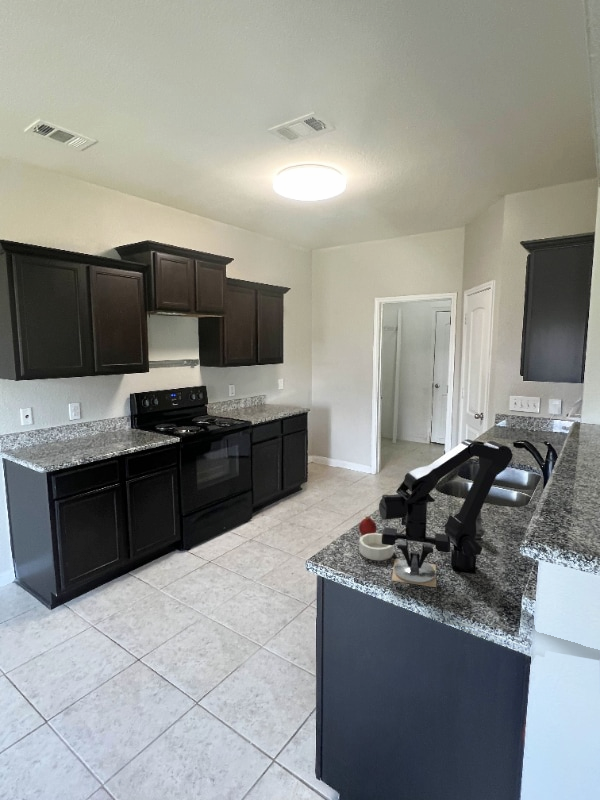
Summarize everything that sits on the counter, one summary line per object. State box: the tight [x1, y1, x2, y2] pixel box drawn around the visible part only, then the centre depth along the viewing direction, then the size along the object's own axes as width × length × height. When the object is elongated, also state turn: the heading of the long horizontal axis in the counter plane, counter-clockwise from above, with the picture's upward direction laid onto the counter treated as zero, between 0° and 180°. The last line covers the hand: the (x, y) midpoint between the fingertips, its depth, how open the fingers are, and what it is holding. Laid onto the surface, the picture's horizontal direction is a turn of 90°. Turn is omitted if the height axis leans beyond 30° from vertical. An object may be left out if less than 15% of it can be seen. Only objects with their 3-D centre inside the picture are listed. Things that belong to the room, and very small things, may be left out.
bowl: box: [358, 532, 395, 561], centre depth 136 cm, size 11×11×4 cm
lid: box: [393, 550, 435, 584], centre depth 124 cm, size 12×12×6 cm
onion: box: [358, 516, 377, 536], centre depth 145 cm, size 6×6×8 cm
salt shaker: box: [475, 510, 486, 544], centre depth 143 cm, size 6×6×12 cm
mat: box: [391, 558, 437, 588], centre depth 124 cm, size 12×12×1 cm
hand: (414, 566), depth 124 cm, fingers closed on lid, 3 cm apart
